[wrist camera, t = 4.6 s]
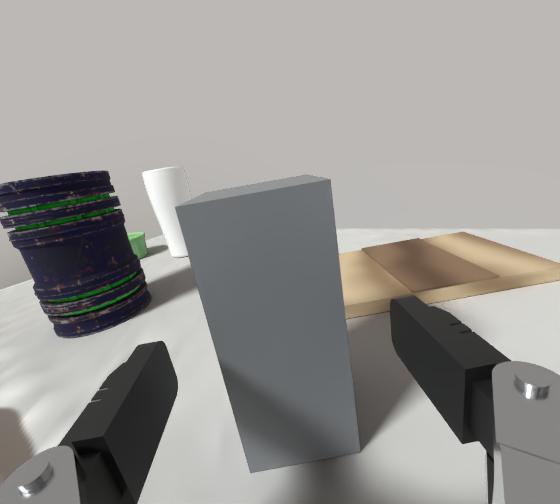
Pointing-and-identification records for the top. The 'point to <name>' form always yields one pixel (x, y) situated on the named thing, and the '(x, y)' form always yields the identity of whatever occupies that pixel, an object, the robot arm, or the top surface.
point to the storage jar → (75, 250)
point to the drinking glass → (168, 203)
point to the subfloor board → (436, 271)
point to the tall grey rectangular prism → (276, 316)
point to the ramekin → (138, 244)
